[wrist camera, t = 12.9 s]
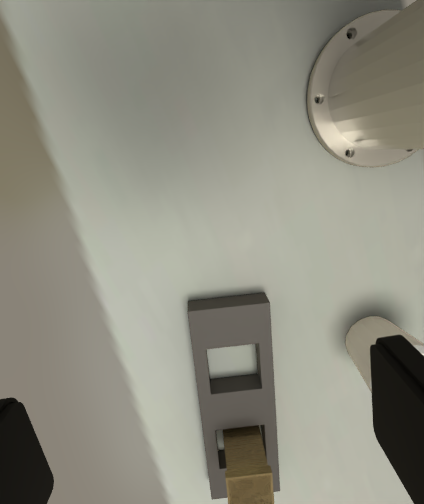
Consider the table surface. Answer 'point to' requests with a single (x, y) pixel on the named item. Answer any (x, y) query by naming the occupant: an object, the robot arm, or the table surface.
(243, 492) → the tan upright block
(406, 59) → the robot arm
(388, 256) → the table surface
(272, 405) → the rail
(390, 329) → the white short cylinder
